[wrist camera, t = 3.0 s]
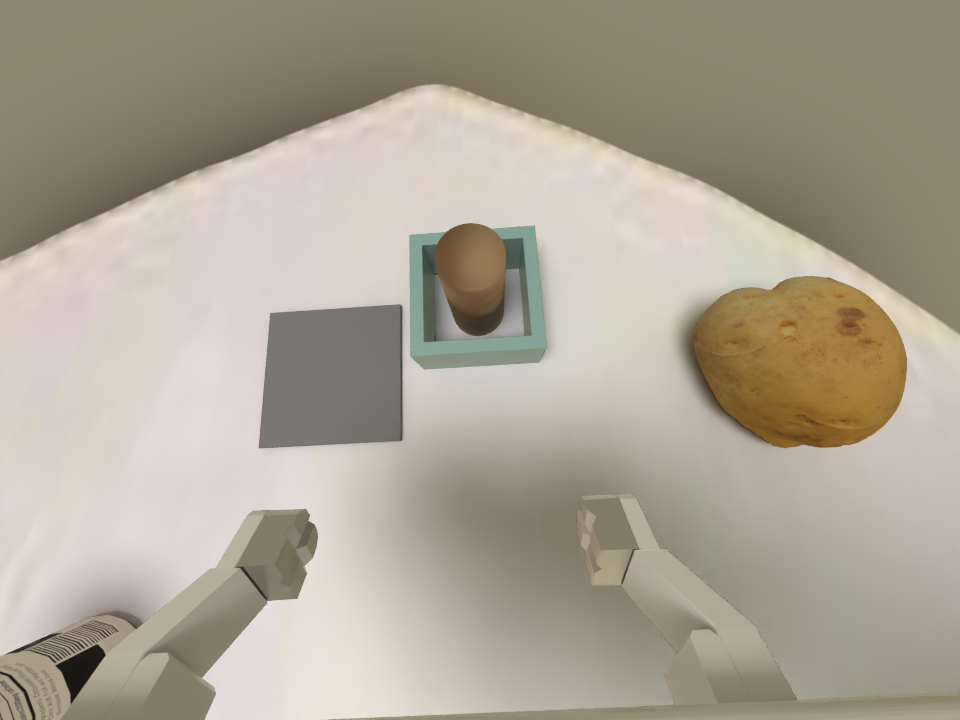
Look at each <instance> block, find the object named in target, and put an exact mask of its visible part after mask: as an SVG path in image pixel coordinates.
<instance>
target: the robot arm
mask: <svg viewBox="0 0 960 720" xmlns="http://www.w3.org/2000/svg"><path fill="white" fill-rule="evenodd" d="M579 506H580V509H581V510H580V511H579V512H578V513H577V519H576V522H577V533H578V538H579V542H580V546H581V547H582V548H583V549H584V550H585V551H586V557H585V564H586V568H587V572H588V575H589V579H590V583H591V586H607V585H622V588H623V589H624V591H625V592H626V593H627V594H628V595H629V596H630V598H631V599H632V600H633V601H634V602H635V604H636V605H637V606H638V607H639V608H640V610H641V611H642V612H643V613H644V614H645V616H646V617H647V618H648V619H649V620H650V622H651V623H652V624H653V625H654V626H655V628H656V629H657V630H658V631H659V632H660V633H661V635H662V636H663V637H664V638H665V639H666V641H667V642H668V643H669V644H670V645H671V647H672V648H673V649H674V650H675V651H676V653H677V654H676V656H675V657H674V659H673V660H672V662H671V663H670V665H669V666H668V668H667V670H666V672H665V674H664V675H665V678H666V681H667V683H668V686H669V689H670V692H671V695H672V698H673V701H674V704H675V705H664V706H640V707H616V708H592V709H569V710H545V711H521V712H497V713H473V714H449V715H425V716H402V717H378V718H354V719H330V720H960V693H958V694H926V695H903V696H879V697H855V698H831V699H807V700H797V698H796V696H795V694H794V693H793V691H792V689H791V688H790V686H789V684H788V682H787V681H786V679H785V677H784V675H783V674H782V672H781V670H780V669H779V667H778V665H777V663H776V662H775V660H774V658H773V656H772V655H771V653H770V651H769V649H768V648H767V646H766V644H765V643H764V641H763V639H762V637H761V636H760V634H759V632H758V630H757V629H756V627H755V626H754V625H753V624H752V623H751V622H750V621H749V620H747V619H746V618H745V617H744V616H743V615H742V614H740V613H739V612H738V611H737V610H736V609H735V608H734V607H732V606H731V605H730V604H729V603H728V602H727V601H725V600H724V599H723V598H722V597H721V596H720V595H718V594H717V593H716V592H715V591H714V590H713V589H712V588H710V587H709V586H708V585H707V584H706V583H705V582H703V581H702V580H701V579H700V578H699V577H698V576H696V575H695V574H694V573H693V572H692V571H691V570H690V569H688V568H687V567H686V566H685V565H684V564H683V563H681V562H680V561H679V560H678V559H677V558H676V557H674V556H673V555H672V554H671V553H670V552H669V551H668V550H666V549H660V548H659V545H658V543H657V541H656V539H655V537H654V535H653V532H652V530H651V528H650V526H649V524H648V522H647V520H646V517H645V515H644V513H643V511H642V509H641V507H640V504H639V502H638V500H637V498H636V497H635V496H634V495H633V494H616V495H614V494H607V495H591V496H581V497H580V500H579ZM309 517H310V515H309V513H308V511H307V510H306V509H295V510H262V511H252V512H251V513H250V514H249V515H247V517H246V518H245V520H244V521H243V523H242V525H241V526H240V528H239V530H238V531H237V533H236V535H235V536H234V538H233V540H232V541H231V543H230V545H229V546H228V548H227V550H226V551H225V553H224V555H223V556H222V558H221V560H220V561H219V563H218V565H217V567H216V568H215V569H209V570H208V571H207V572H206V573H204V574H203V575H202V576H201V577H200V578H198V579H197V580H196V581H195V582H193V583H192V584H191V585H190V586H189V587H187V588H186V589H185V590H184V591H182V592H181V593H180V594H179V595H178V596H176V597H175V598H174V599H173V600H171V601H170V602H169V603H168V604H167V605H165V606H164V607H163V608H162V609H161V610H159V611H158V612H157V613H156V614H154V615H153V616H152V617H151V618H150V619H148V620H147V621H146V622H145V623H143V624H142V625H141V626H140V627H139V628H137V629H136V630H135V631H134V632H132V633H131V634H130V635H129V636H128V637H126V638H125V639H124V640H123V641H121V642H120V643H119V644H118V645H117V646H115V647H114V648H113V649H112V650H110V651H109V652H108V653H107V654H106V656H105V657H104V659H103V660H102V661H101V663H100V664H99V666H98V667H97V668H96V670H95V671H94V673H93V674H92V676H91V677H90V678H89V680H88V681H87V683H86V684H85V685H84V687H83V688H82V690H81V691H80V692H79V694H78V695H77V697H76V698H75V700H74V701H73V702H72V704H71V705H70V707H69V708H68V709H67V711H66V712H65V714H64V715H63V716H62V718H61V719H60V720H204V719H205V717H206V715H207V713H208V710H209V708H210V706H211V704H212V701H213V699H214V697H215V695H216V692H215V688H214V687H213V686H212V685H210V684H209V683H208V682H206V681H205V680H204V679H202V677H203V676H204V675H205V674H206V673H207V671H208V670H209V669H210V668H211V667H212V666H213V664H214V663H215V662H216V661H217V660H218V659H219V658H220V656H221V655H222V654H223V653H224V652H225V651H226V650H227V648H228V647H229V646H230V645H231V644H232V643H233V642H234V640H235V639H236V638H237V637H238V636H239V635H240V634H241V632H242V631H243V630H244V629H245V628H246V627H247V626H248V624H249V623H250V622H251V621H252V620H253V619H254V618H255V616H256V615H257V614H258V613H259V612H260V611H261V610H262V608H263V607H264V606H265V605H266V604H267V601H272V600H286V599H297V598H298V596H299V593H300V591H301V588H302V585H303V583H304V580H305V577H306V575H307V572H306V569H305V565H306V564H307V563H308V562H309V561H310V560H311V559H312V558H313V556H314V553H315V550H316V548H317V541H318V533H317V529H316V526H315V525H314V524H313V523H311V522H309V521H308V520H309Z"/></svg>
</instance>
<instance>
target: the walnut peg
mask: <svg viewBox="0 0 960 720" xmlns="http://www.w3.org/2000/svg"><path fill="white" fill-rule="evenodd" d="M434 261H435V266H436V269H437V272H438V274H439V277H440V280H441V283H442V286H443V288H444V291H445V294H446V297H447V300H448V302H449V305H450V308H451V311H452V314H453V317H454V319H455V322H456V324H457V325H458V327H459V328H460V329H461V330H462V331H464V332H465V333H467V334H470V335H474V336H481V335H486V334H489V333H490V332H492V331H494V330H495V329H496V328H497V327H498V326H499V324H500V322H501V320H502V317H503V306H504V285H505V265H506V250H505V246H504V243H503V241H502V240H501V238H500V237H499V235H498V234H497V233H496V232H494V231H493V230H492V229H490V228H488V227H486V226H484V225H480V224H474V223H469V224H462V225H459V226H456V227H454V228H452V229H450V230H449V231H447V232H446V233H445V234H444V235H443V236H442V237H441V239H440V240H439V242H438V244H437V246H436V249H435V253H434Z"/></svg>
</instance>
